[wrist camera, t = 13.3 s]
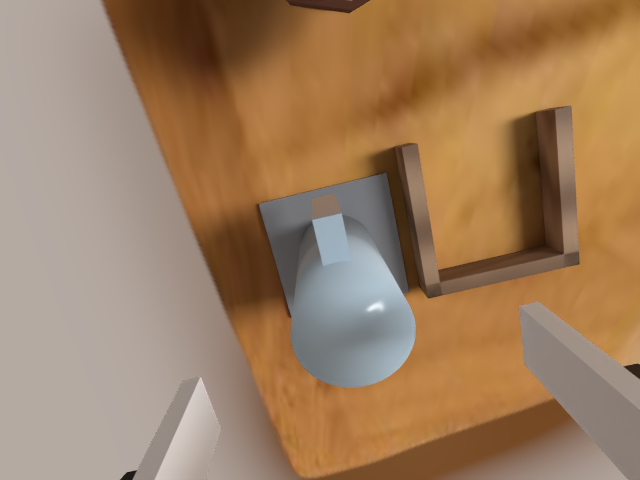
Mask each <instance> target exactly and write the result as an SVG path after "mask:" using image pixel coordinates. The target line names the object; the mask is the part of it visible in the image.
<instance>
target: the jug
mask: <svg viewBox="0 0 640 480" xmlns="http://www.w3.org/2000/svg"><path fill="white" fill-rule="evenodd" d="M312 222H313V223H312V224H311V225H310V226H309V227H308V228H307V229H306V231H305V232H304V234H303V236H302V239H301V242H300V249H299V259H298V268H297V277H296V287H295V296H294V306H293V315H292V324H291V342H292V347H293V350H294V353H295V355H296V357H297V359H298V361H299V362H300V363H301V365H302V366H303V367H304V368H305V369H306V370H307V371H308V372H309V373H310V374H311V375H313V376H314V377H316V378H317V379H319V380H321V381H323V382H325V383H328V384H331V385H334V386H340V387H362V386H367V385H371V384H374V383H377V382H379V381H381V380H383V379H385V378H387V377H388V376H390V375H391V374H393V373H394V372H395V371H396V370H398V369H399V368H400V367H401V365H402V364H403V363H404V362H405V360H406V359H407V357H408V356H409V354H410V352H411V350H412V347H413V344H414V340H415V333H416V327H415V319H414V315H413V313H412V310H411V308H410V306H409V304H408V302H407V301H406V299H405V297H404V295H403V293H402V292H401V290H400V288H399V286H398V284H397V283H396V281H395V279H394V277H393V275H392V274H391V272H390V270H389V268H388V266H387V265H386V263H385V261H384V259H383V258H382V256H381V254H380V252H379V250H378V249H377V247H376V245H375V243H374V241H373V240H372V238H371V236H370V234H369V233H368V231H367V229H366V228H365V227H364V226H363V225H362V224H361V223H360V222H359V221H357V220H356V219H354V218H352V217H349V216H346V215H342V213H341V210H340V207H339V205H338V202H337V199H336V196H335V194H331V195H327V196H322V197H318V198H314V199H312Z"/></svg>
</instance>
